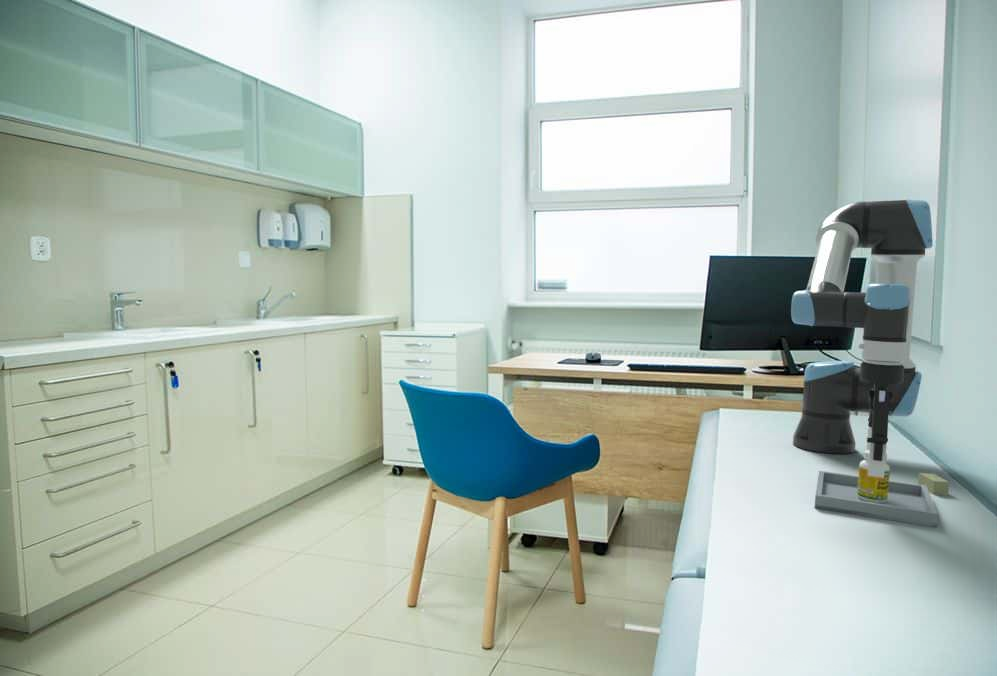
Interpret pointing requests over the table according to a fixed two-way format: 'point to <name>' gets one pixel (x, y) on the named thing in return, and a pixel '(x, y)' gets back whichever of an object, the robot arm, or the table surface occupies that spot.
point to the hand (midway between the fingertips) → (874, 467)
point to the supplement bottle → (872, 483)
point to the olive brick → (934, 483)
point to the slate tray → (900, 506)
